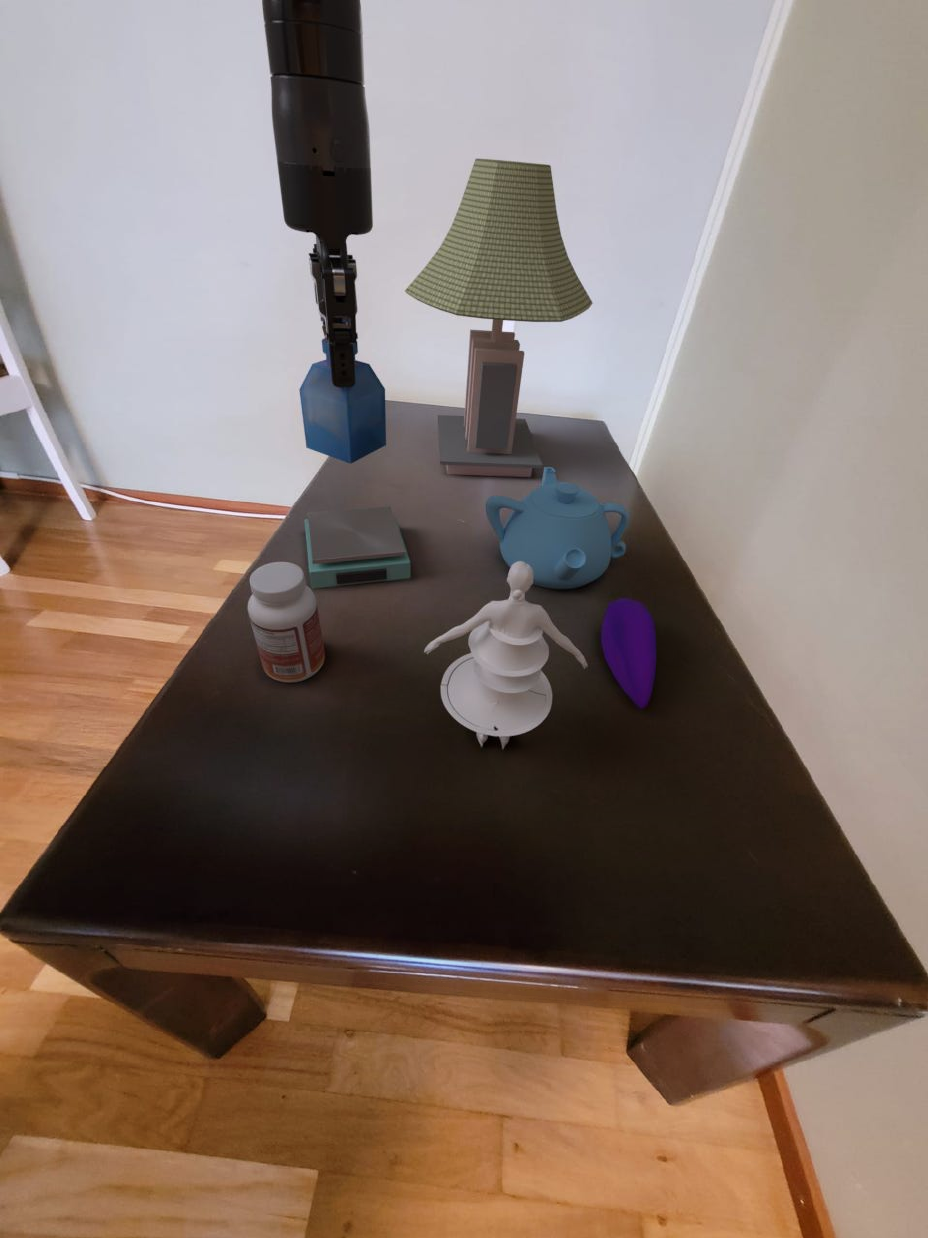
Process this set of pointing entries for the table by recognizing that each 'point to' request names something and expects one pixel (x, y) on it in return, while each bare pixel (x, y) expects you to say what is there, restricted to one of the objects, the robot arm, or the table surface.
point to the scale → (357, 569)
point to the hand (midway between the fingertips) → (340, 374)
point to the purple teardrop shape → (630, 647)
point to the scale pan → (354, 535)
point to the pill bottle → (285, 622)
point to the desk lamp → (499, 306)
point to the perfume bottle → (343, 410)
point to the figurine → (503, 664)
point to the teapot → (558, 533)
